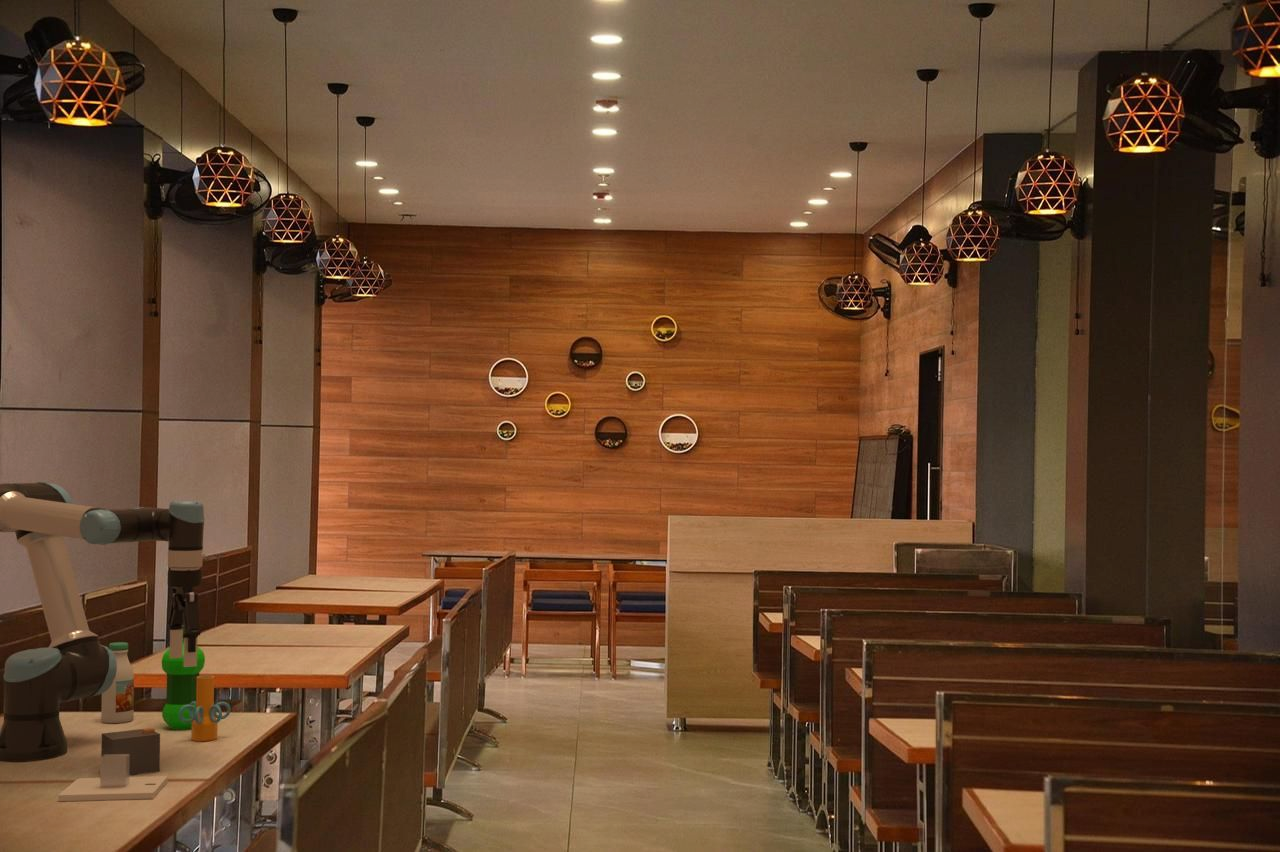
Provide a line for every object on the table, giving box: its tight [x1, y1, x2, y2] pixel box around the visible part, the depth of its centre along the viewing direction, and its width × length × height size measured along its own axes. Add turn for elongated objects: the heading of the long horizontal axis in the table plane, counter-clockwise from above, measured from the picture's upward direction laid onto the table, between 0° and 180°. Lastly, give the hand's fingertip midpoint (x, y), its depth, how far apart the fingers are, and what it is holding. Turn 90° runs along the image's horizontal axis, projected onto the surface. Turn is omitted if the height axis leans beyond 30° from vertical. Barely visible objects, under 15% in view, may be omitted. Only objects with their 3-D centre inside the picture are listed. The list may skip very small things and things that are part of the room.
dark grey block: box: [100, 727, 161, 776], centre depth 290 cm, size 10×8×9 cm
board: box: [57, 754, 169, 802], centre depth 273 cm, size 18×14×7 cm
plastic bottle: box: [161, 628, 206, 730], centre depth 337 cm, size 10×10×25 cm
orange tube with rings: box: [179, 675, 231, 742], centre depth 324 cm, size 12×10×15 cm
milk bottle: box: [100, 641, 135, 724], centre depth 345 cm, size 8×8×20 cm
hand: (182, 662), depth 304 cm, fingers open, 13 cm apart
